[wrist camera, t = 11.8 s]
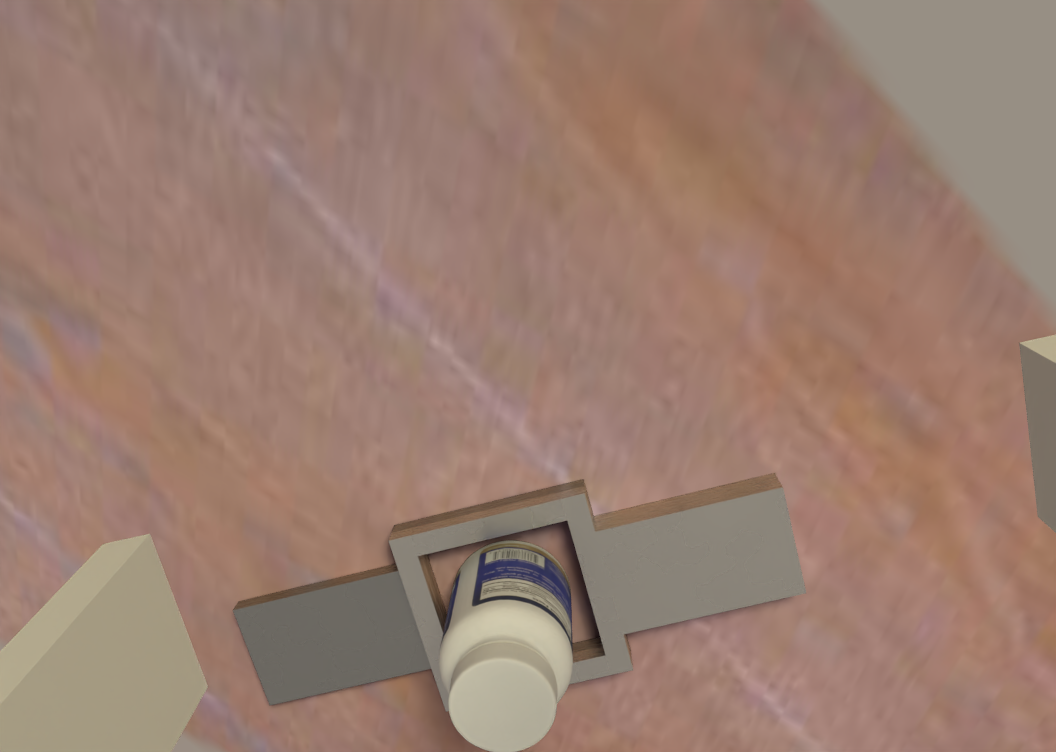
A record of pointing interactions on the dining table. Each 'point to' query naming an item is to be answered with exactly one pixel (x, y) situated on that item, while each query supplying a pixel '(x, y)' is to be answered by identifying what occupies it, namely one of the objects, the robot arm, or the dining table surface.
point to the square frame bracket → (605, 559)
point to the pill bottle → (507, 645)
